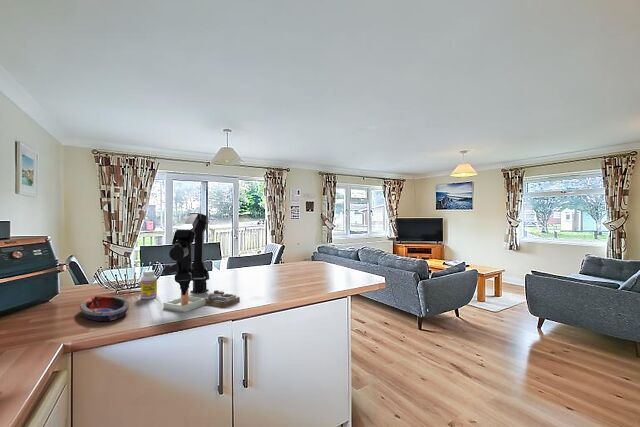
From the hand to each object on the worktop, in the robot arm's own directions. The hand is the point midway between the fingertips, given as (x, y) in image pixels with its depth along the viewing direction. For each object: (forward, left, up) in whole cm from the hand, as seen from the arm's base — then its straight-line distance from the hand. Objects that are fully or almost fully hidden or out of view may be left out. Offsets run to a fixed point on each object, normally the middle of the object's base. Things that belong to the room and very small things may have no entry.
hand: (184, 292), depth 129 cm
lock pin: (0, 0, -5) cm, 5 cm away
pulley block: (+10, +11, -6) cm, 16 cm away
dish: (-23, -20, -7) cm, 31 cm away
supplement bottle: (-27, +2, -6) cm, 28 cm away
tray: (0, 0, -6) cm, 6 cm away
